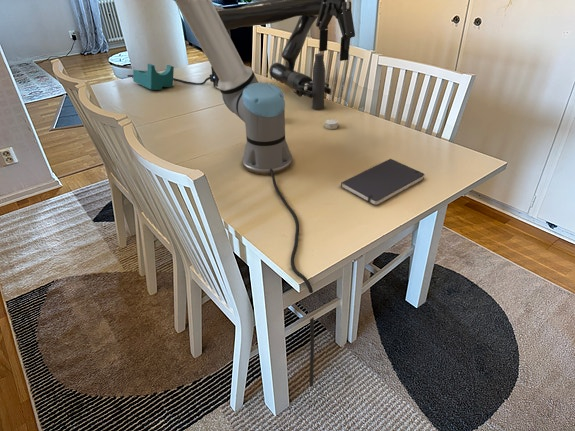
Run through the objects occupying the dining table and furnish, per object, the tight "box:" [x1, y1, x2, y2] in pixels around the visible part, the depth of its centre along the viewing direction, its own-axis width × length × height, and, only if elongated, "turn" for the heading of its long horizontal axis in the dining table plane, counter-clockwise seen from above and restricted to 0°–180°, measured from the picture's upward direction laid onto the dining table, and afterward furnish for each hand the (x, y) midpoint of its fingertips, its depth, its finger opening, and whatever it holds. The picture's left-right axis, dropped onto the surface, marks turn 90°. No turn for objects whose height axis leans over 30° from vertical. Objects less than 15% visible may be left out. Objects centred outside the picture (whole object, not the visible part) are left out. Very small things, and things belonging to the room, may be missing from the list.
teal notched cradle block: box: [132, 63, 175, 91], centre depth 189 cm, size 18×11×10 cm, turn 43°
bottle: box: [311, 52, 326, 111], centre depth 157 cm, size 5×5×21 cm
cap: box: [324, 118, 339, 130], centre depth 147 cm, size 4×4×2 cm
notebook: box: [340, 158, 425, 206], centre depth 114 cm, size 13×2×21 cm
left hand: (321, 93), depth 158 cm, fingers open, 8 cm apart
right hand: (333, 55), depth 133 cm, fingers open, 13 cm apart
